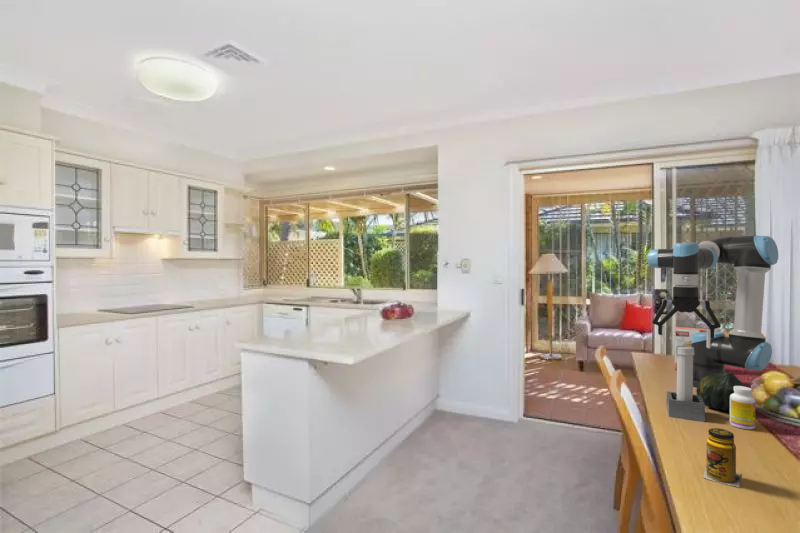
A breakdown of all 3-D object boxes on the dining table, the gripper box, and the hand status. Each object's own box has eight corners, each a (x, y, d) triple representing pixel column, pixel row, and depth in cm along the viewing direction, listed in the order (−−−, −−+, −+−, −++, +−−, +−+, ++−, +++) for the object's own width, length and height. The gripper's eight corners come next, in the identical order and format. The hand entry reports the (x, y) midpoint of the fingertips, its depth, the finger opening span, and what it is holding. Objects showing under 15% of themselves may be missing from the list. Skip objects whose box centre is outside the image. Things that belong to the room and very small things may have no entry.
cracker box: (674, 370, 207) (675, 328, 207) (674, 367, 212) (674, 326, 212) (710, 374, 200) (710, 330, 199) (708, 371, 205) (709, 328, 205)
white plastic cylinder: (696, 417, 148) (697, 332, 147) (676, 416, 149) (677, 331, 148) (689, 411, 153) (690, 329, 153) (670, 410, 155) (671, 329, 154)
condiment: (702, 478, 108) (703, 432, 108) (705, 465, 115) (706, 422, 114) (739, 488, 103) (739, 440, 103) (740, 474, 110) (740, 428, 110)
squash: (690, 384, 168) (700, 362, 158) (735, 389, 163) (748, 367, 153) (697, 417, 158) (708, 396, 148) (746, 423, 153) (761, 402, 143)
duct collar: (700, 411, 153) (700, 395, 153) (704, 421, 144) (704, 404, 144) (666, 407, 158) (666, 391, 158) (668, 416, 149) (668, 399, 149)
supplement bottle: (757, 431, 136) (757, 392, 135) (731, 427, 139) (731, 389, 139) (753, 424, 141) (753, 386, 141) (728, 420, 145) (728, 383, 144)
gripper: (645, 286, 152) (645, 344, 153) (731, 287, 141) (730, 351, 141) (644, 284, 159) (644, 340, 160) (726, 286, 147) (726, 346, 148)
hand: (685, 345), depth 150 cm, fingers open, 13 cm apart
